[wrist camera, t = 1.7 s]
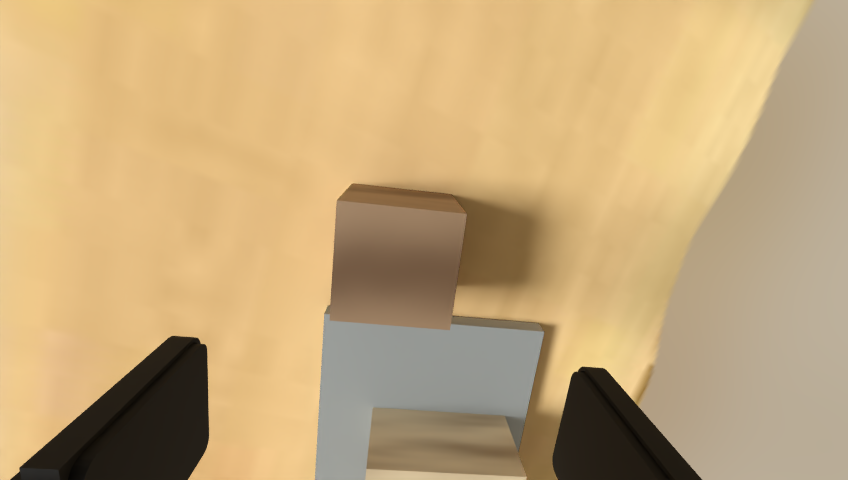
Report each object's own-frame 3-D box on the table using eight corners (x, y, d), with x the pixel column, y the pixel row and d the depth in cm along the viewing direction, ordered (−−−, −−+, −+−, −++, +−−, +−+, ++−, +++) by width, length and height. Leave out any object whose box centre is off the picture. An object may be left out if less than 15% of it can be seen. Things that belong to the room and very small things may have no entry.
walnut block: (352, 183, 24) (336, 200, 18) (451, 194, 24) (467, 213, 18) (345, 277, 25) (329, 320, 20) (439, 285, 26) (449, 330, 20)
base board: (327, 305, 26) (324, 313, 24) (538, 323, 27) (544, 331, 26) (314, 542, 31) (310, 558, 30) (490, 548, 32) (494, 564, 31)
